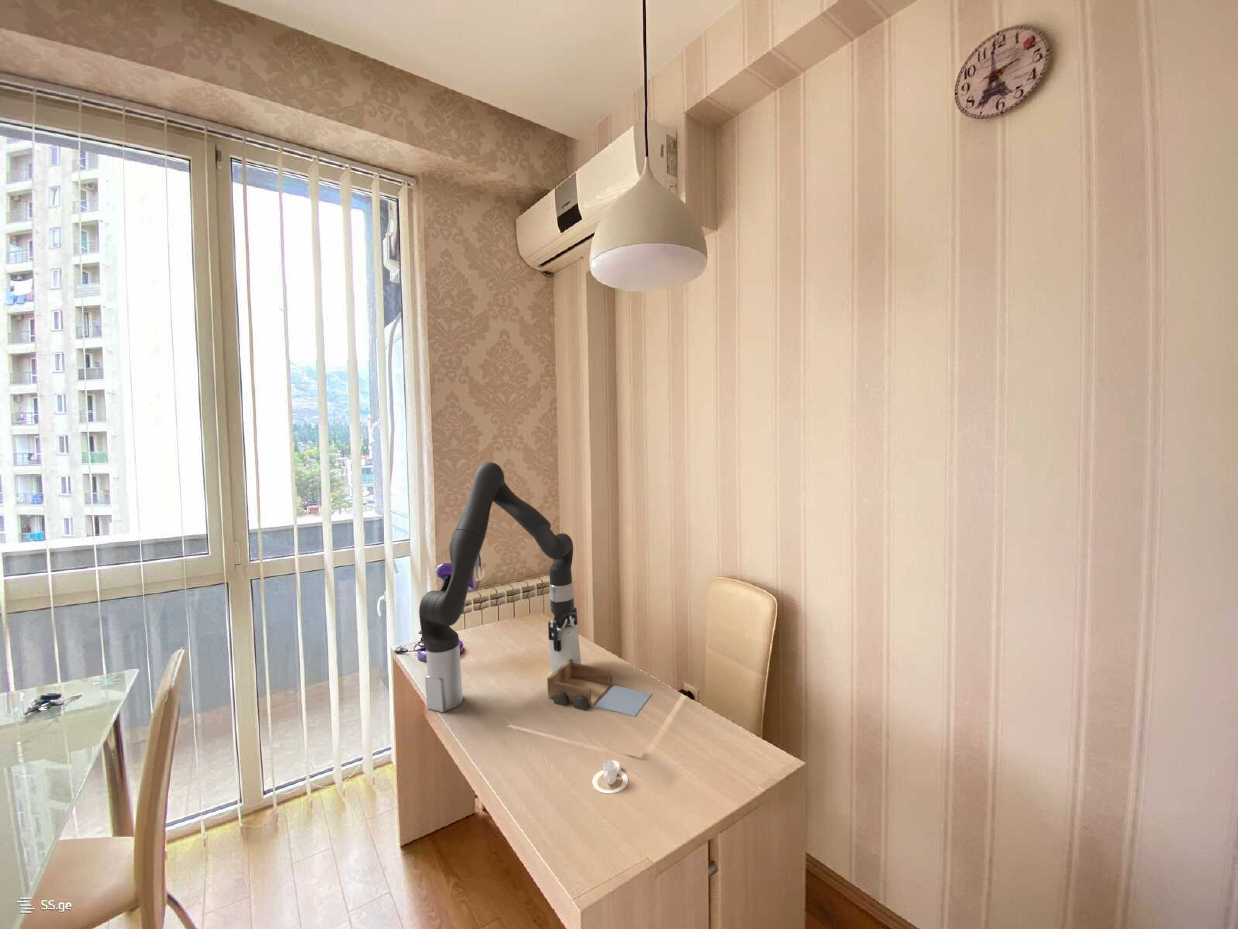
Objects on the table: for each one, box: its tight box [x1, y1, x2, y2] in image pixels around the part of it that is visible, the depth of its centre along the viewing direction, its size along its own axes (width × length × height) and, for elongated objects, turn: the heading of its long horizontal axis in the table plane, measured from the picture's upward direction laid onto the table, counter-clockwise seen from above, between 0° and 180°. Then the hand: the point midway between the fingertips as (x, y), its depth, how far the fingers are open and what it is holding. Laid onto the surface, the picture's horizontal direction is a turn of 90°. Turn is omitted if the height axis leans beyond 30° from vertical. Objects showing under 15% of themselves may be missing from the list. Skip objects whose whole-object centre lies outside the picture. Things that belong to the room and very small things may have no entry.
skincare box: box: [547, 626, 582, 675], centre depth 163 cm, size 8×6×15 cm
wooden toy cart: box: [546, 659, 613, 711], centre depth 150 cm, size 16×14×7 cm
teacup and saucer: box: [592, 760, 629, 795], centre depth 113 cm, size 9×8×4 cm
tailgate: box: [595, 684, 652, 718], centre depth 144 cm, size 12×1×12 cm
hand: (564, 645), depth 164 cm, fingers open, 8 cm apart
